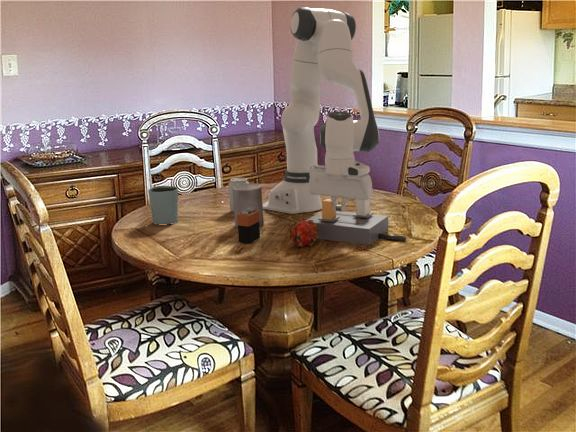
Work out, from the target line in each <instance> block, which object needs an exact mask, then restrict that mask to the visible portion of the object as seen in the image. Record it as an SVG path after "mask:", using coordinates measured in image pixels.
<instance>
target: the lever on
mask: <svg viewBox="0 0 576 432" xmlns="http://www.w3.org/2000/svg"><path fill="white" fill-rule="evenodd" d="M370 199H371V197H370V198H369V199H368V200H358V199H355V212H356V213H355V214H353V217H363V218H368V217H370V216H371V215H373V214H374V212H371V210H370V209H371V203H370V202H371V200H370Z"/></svg>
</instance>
